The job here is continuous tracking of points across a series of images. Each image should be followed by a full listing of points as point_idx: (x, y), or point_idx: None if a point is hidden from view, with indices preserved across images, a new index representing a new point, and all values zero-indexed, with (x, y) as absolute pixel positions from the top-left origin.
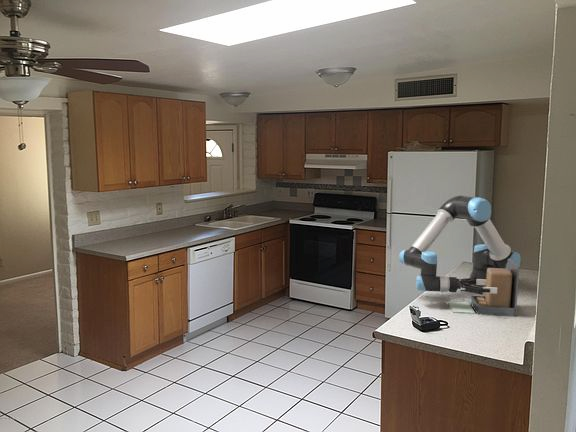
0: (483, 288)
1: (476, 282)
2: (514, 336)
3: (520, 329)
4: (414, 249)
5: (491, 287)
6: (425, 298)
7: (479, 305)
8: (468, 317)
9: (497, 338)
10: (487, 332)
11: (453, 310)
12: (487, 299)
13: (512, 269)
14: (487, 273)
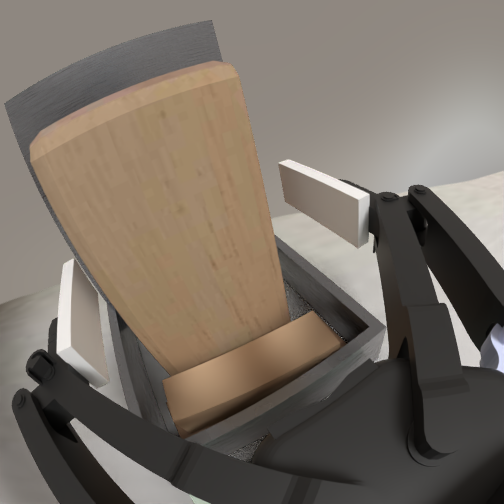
0: (364, 202)
1: (86, 373)
2: (446, 196)
3: None
4: None
5: (307, 172)
6: None
7: (364, 333)
8: (463, 359)
9: (497, 210)
10: (499, 237)
11: None
12: (248, 318)
13: (125, 82)
14: (94, 166)
